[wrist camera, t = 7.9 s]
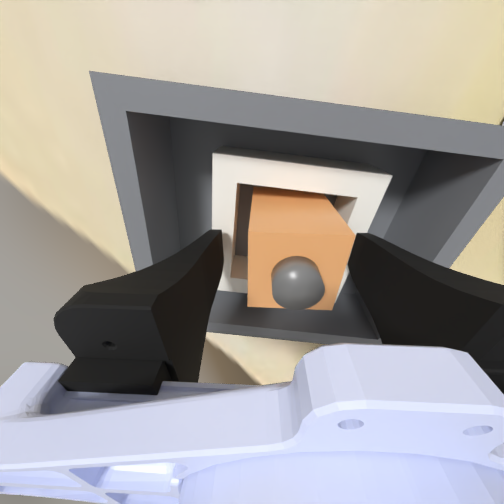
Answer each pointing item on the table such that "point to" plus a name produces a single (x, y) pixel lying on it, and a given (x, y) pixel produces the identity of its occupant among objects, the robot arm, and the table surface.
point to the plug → (295, 250)
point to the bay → (290, 184)
